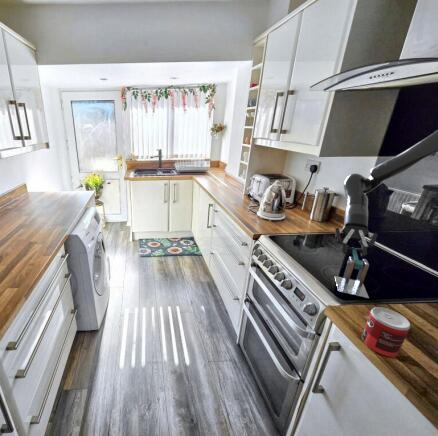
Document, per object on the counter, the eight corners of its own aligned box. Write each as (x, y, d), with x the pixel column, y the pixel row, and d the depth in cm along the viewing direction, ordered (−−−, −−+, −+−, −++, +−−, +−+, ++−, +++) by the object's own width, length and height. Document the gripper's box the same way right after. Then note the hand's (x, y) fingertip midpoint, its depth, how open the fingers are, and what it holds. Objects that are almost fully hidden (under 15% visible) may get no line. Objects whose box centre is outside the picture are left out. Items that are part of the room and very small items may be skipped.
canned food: (371, 332, 74) (382, 304, 70) (403, 353, 67) (418, 323, 63) (353, 339, 72) (364, 310, 68) (385, 362, 65) (399, 331, 61)
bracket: (333, 278, 100) (341, 251, 96) (361, 284, 96) (371, 256, 91) (337, 293, 91) (346, 264, 87) (368, 300, 87) (379, 270, 82)
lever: (344, 249, 99) (346, 244, 98) (360, 252, 97) (362, 247, 96) (348, 267, 90) (350, 262, 89) (365, 271, 88) (368, 266, 87)
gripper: (374, 223, 101) (373, 261, 96) (332, 218, 108) (329, 253, 103) (382, 215, 95) (381, 256, 89) (337, 210, 101) (333, 248, 96)
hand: (353, 254), depth 96 cm, fingers closed on lever, 5 cm apart
